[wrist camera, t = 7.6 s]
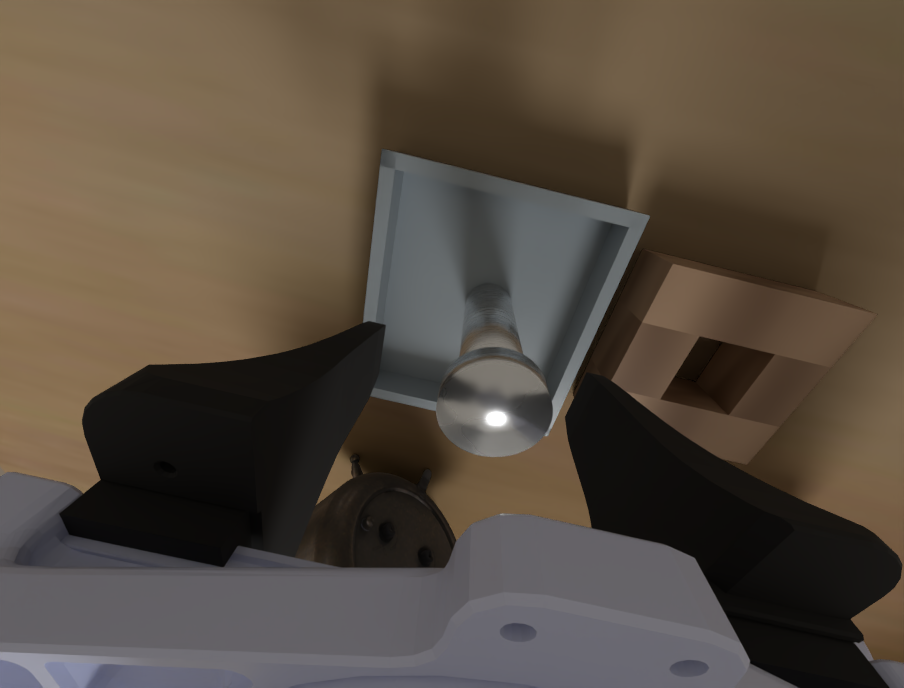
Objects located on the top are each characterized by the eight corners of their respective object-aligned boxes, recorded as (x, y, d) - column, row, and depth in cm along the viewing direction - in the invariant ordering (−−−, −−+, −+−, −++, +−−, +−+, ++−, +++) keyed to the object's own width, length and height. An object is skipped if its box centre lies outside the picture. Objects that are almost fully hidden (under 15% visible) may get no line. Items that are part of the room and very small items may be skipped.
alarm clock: (327, 456, 25) (118, 849, 11) (375, 417, 23) (197, 838, 9) (434, 533, 28) (384, 919, 14) (484, 505, 26) (487, 923, 12)
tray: (627, 209, 16) (650, 215, 14) (540, 408, 22) (547, 436, 19) (396, 151, 16) (381, 148, 13) (368, 369, 21) (355, 392, 19)
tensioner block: (816, 291, 17) (877, 314, 14) (713, 427, 21) (746, 464, 19) (642, 248, 17) (672, 264, 14) (572, 395, 21) (586, 428, 18)
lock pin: (530, 282, 17) (571, 380, 9) (510, 340, 19) (531, 466, 11) (464, 266, 17) (449, 351, 9) (450, 326, 19) (426, 443, 11)
